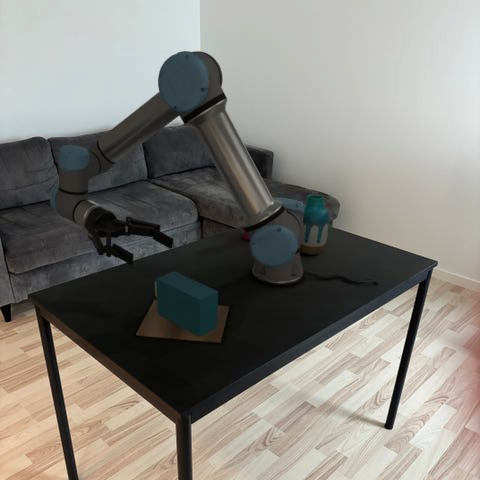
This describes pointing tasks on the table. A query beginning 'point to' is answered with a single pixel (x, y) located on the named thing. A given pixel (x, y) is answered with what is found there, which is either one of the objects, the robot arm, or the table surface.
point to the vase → (314, 225)
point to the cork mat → (167, 329)
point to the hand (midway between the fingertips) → (152, 251)
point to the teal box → (187, 303)
